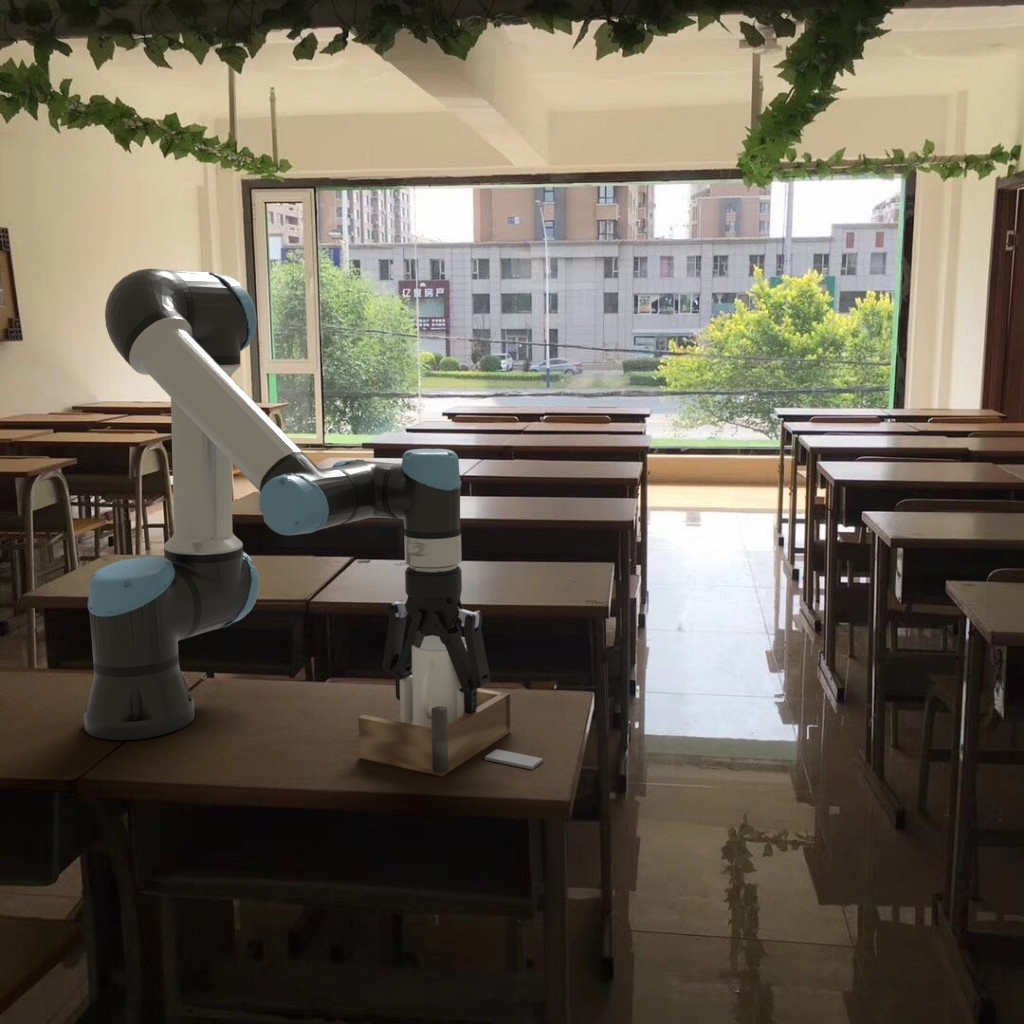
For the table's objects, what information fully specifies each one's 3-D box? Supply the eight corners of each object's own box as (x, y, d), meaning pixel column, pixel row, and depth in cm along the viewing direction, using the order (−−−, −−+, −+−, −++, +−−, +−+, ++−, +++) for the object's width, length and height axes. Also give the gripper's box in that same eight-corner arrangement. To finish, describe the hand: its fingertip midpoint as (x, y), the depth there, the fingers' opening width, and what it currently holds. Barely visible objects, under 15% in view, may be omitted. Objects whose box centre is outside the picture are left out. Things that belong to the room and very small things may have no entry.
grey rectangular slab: (485, 759, 141) (485, 756, 141) (496, 751, 144) (496, 749, 144) (531, 769, 138) (531, 766, 138) (542, 761, 141) (542, 758, 141)
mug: (449, 750, 139) (447, 661, 138) (390, 742, 142) (387, 655, 140) (483, 720, 150) (481, 637, 148) (427, 713, 153) (425, 631, 151)
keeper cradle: (357, 758, 142) (355, 696, 141) (433, 717, 158) (431, 660, 156) (442, 778, 136) (441, 712, 134) (512, 732, 151) (512, 673, 150)
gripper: (351, 563, 145) (356, 724, 148) (487, 579, 134) (489, 751, 138) (384, 553, 151) (388, 707, 155) (516, 568, 141) (518, 733, 145)
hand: (436, 728), depth 146 cm, fingers closed on mug, 8 cm apart
